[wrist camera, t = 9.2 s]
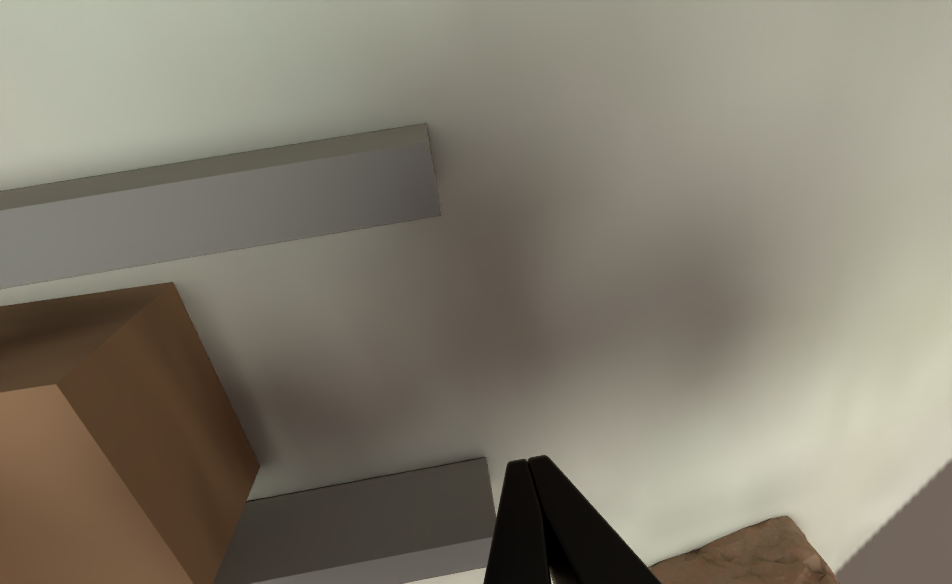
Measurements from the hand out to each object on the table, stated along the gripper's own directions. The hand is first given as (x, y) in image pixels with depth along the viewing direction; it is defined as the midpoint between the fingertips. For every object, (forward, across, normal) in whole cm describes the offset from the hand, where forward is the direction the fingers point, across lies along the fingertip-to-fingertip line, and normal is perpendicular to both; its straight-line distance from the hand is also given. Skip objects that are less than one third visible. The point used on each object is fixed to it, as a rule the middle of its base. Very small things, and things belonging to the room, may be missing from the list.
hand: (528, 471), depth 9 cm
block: (+5, +12, 0) cm, 13 cm away
